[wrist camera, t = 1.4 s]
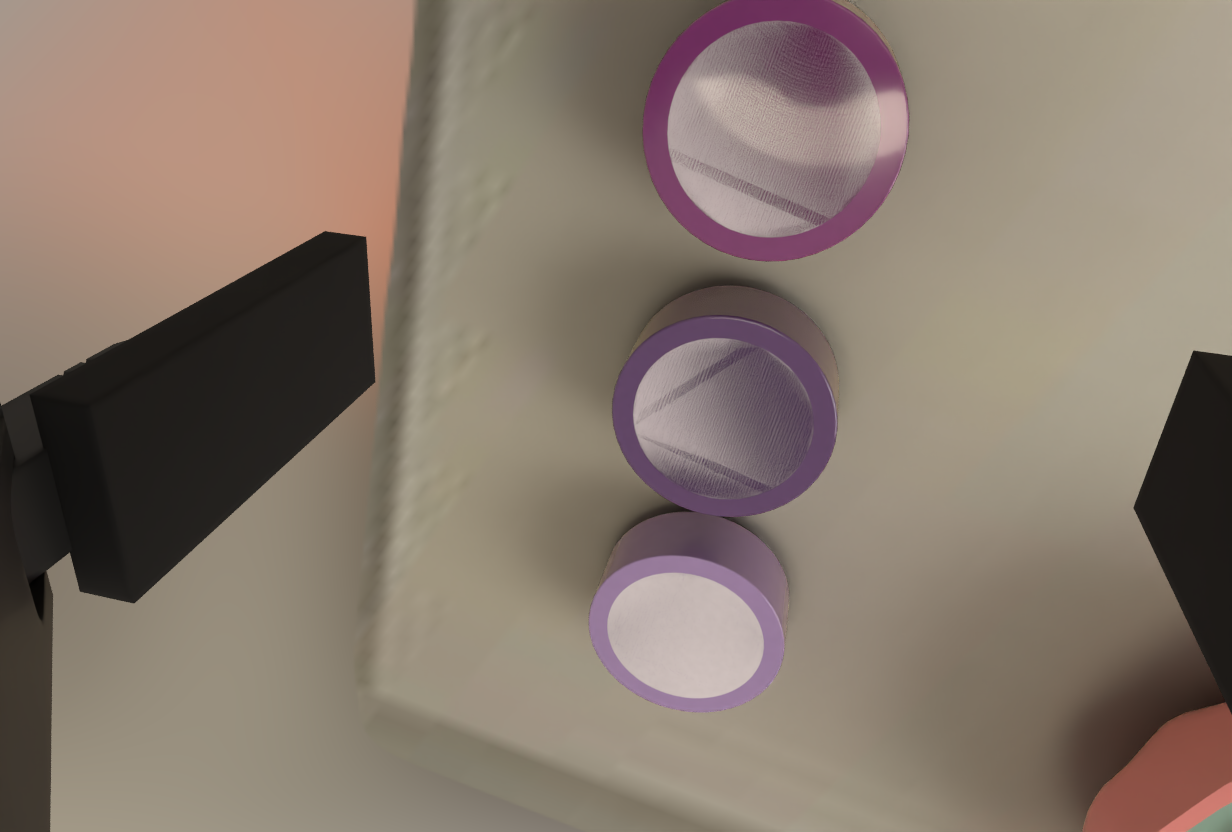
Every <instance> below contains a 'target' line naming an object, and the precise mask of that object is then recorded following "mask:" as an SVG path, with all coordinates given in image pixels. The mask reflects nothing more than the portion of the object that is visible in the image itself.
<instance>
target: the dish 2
mask: <svg viewBox="0 0 1232 832" xmlns="http://www.w3.org/2000/svg"><path fill="white" fill-rule="evenodd" d="M788 609H789V588H788V582H787V579H786V576H785V573H784V570H783V568H782V566H781V564H780V562H779V561H778V559H777V558H776V556H775V555H774V554H773V552H772V551H771V550H770V549H769V548H768V546H767V545H766V544H765V543H764V542H763V541H762V540H760V539H759V538H758V537H757V536H756V535H754V534H753V533H751V532H750V531H748V530H747V529H745V528H744V527H742V526H740V525H738V524H736V523H734V522H732V521H729V520H727V519H724V518H722V517H718V516H713V515H707V514H702V513H698V512H674V513H668V514H662V515H659V516H655V517H652V518H649V519H647V520H645V521H643V522H641V523H639V524H638V525H636V526H635V527H633V528H631V529H630V530H629V531H628V532H627V533H626V534H624V535H623V536H622V538H621V539H620V540H619V541H618V542H617V544H616V545H615V547H614V549H613V550H612V552H611V555H610V557H609V560H608V562H607V565H606V567H605V570H604V572H603V575H602V577H601V580H600V583H599V585H598V588H597V590H596V593H595V595H594V598H593V601H592V603H591V607H590V612H589V631H590V637H591V640H592V643H593V646H594V649H595V651H596V653H597V655H598V657H599V658H600V660H601V662H602V663H603V665H604V666H605V667H606V669H607V670H608V671H609V672H610V673H611V674H612V675H613V676H614V677H615V678H616V679H617V680H618V681H619V682H620V683H621V684H622V685H624V686H625V687H626V688H627V689H629V690H630V691H632V692H634V693H635V694H637V695H638V696H640V697H642V698H644V699H646V700H648V701H650V702H653V703H655V704H658V705H660V706H664V707H667V708H671V709H675V710H681V711H688V712H714V711H721V710H726V709H730V708H733V707H736V706H739V705H742V704H744V703H746V702H748V701H750V700H752V699H753V698H755V697H756V696H758V695H759V694H760V693H762V692H763V691H764V690H765V689H766V688H767V687H768V686H769V685H770V683H771V682H772V681H773V680H774V678H775V677H776V675H777V673H778V671H779V669H780V667H781V664H782V661H783V656H784V649H785V639H786V629H787V619H788Z"/></svg>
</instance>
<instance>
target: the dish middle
mask: <svg viewBox="0 0 1232 832" xmlns="http://www.w3.org/2000/svg"><path fill="white" fill-rule="evenodd" d="M838 403H839V376H838V369H837V364H836V361H835V357H834V354H833V352H832V350H831V347H830V345H829V343H828V341H827V340H826V338H825V336H824V335H823V333H822V332H821V330H820V329H819V328H818V327H817V325H816V324H815V323H814V322H813V321H812V320H811V319H810V318H809V317H808V316H807V315H806V314H805V313H804V312H803V311H802V310H800V309H799V308H797V307H796V306H794V305H793V304H792V303H790V302H788V301H786V300H785V299H783V298H781V297H779V296H777V295H774V294H772V293H769V292H766V291H763V290H760V289H755V288H751V287H744V286H735V285H731V286H714V287H708V288H703V289H700V290H696V291H692V292H690V293H688V294H685V295H683V296H681V297H679V298H677V299H675V300H674V301H672V302H670V303H669V304H667V305H666V306H665V307H664V308H662V309H661V310H660V311H659V312H657V313H656V315H655V316H654V317H653V318H652V319H651V320H650V321H649V322H648V324H647V325H646V326H645V328H644V329H643V331H642V332H641V334H640V336H639V338H638V340H637V341H636V343H635V345H634V347H633V349H632V351H631V353H630V355H629V356H628V358H627V360H626V362H625V364H624V366H623V368H622V370H621V372H620V374H619V376H618V379H617V382H616V385H615V388H614V394H613V399H612V418H613V426H614V430H615V434H616V438H617V441H618V443H619V446H620V448H621V451H622V453H623V454H624V456H625V458H626V460H627V462H628V463H629V465H630V466H631V467H632V469H633V470H634V471H635V473H636V474H637V475H638V476H639V477H640V478H641V479H642V480H643V481H644V482H645V483H646V484H647V485H648V486H649V487H650V488H652V489H653V490H654V491H655V492H657V493H658V494H660V495H661V496H663V497H664V498H666V499H667V500H669V501H671V502H673V503H675V504H677V505H679V506H681V507H684V508H686V509H689V510H691V511H695V512H699V513H702V514H707V515H713V516H721V517H741V516H750V515H756V514H761V513H764V512H767V511H770V510H774V509H776V508H778V507H780V506H783V505H785V504H787V503H788V502H790V501H792V500H793V499H795V498H797V497H798V496H799V495H801V494H802V493H803V492H804V491H806V490H807V489H808V488H809V487H810V486H811V485H812V484H813V483H814V482H815V481H816V480H817V478H818V477H819V476H820V474H821V473H822V471H823V470H824V469H825V467H826V465H827V463H828V461H829V459H830V457H831V455H832V452H833V449H834V445H835V442H836V436H837V429H838Z"/></svg>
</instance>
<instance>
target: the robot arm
mask: <svg viewBox="0 0 1232 832" xmlns="http://www.w3.org/2000/svg"><path fill="white" fill-rule="evenodd" d="M372 340H373V338H372V323H371V307H370V291H369V275H368V259H367V244H366V237H363V236H356V235H348V234H341V233H334V232H327V231H325V232H323V233H321V234H319V235H317V236H315V237H314V238H312V239H310V240H308V241H306V242H305V243H303V244H301V245H299V246H297V247H296V248H294V249H292V250H290V251H288V252H287V253H285V254H283V255H281V256H279V257H278V258H276V259H274V260H272V261H270V262H268V263H267V264H265V265H263V266H261V267H260V268H258V269H256V270H254V271H252V272H250V273H249V274H247V275H245V276H243V277H241V278H239V279H238V280H236V281H234V282H232V283H230V284H229V285H227V286H225V287H223V288H222V289H220V290H218V291H216V292H214V293H212V294H211V295H209V296H207V297H205V298H203V299H201V300H200V301H198V302H196V303H194V304H193V305H191V306H189V307H187V308H185V309H183V310H182V311H180V312H178V313H176V314H174V315H173V316H171V317H169V318H167V319H165V320H163V321H162V322H160V323H158V324H156V325H154V326H153V327H151V328H149V329H147V330H146V331H144V332H142V333H140V334H138V335H136V336H134V337H133V338H131V339H129V340H126V341H123V342H120V343H116V344H113V345H112V346H110V347H108V348H106V349H104V350H102V351H101V352H99V353H97V354H95V355H93V356H92V357H90V358H88V359H86V363H82V362H80V363H79V364H77V365H75V366H73V367H71V368H70V369H68V370H66V371H64V375H57V376H55V377H53V378H51V379H50V380H48V381H46V382H44V383H42V384H40V385H38V386H37V387H35V388H33V389H31V390H30V391H28V392H26V393H24V394H22V395H20V396H19V397H17V398H15V399H13V400H11V401H9V402H8V403H6V404H4V405H2V406H1V404H0V832H50V794H51V793H50V792H51V789H50V788H51V710H52V630H53V627H52V626H53V624H52V623H53V622H52V621H53V593H52V590H51V586H50V582H49V579H48V575H47V572H46V570H48V569H49V568H50V567H52V566H53V565H54V564H55V563H57V562H58V561H59V560H60V559H62V558H63V557H64V556H66V555H67V554H68V553H69V552H70V554H71V558H72V562H73V566H74V570H75V574H76V578H77V582H78V586H79V590H80V592H84V593H89V594H94V595H98V596H103V597H107V598H112V599H116V600H121V601H126V602H130V603H135V602H136V601H137V600H139V599H140V598H141V597H142V596H143V595H144V594H145V593H146V592H147V591H148V590H149V589H150V588H152V587H153V586H154V585H155V584H156V583H157V582H158V581H159V580H160V579H161V578H162V577H163V576H165V575H166V574H167V573H168V572H169V571H170V570H171V569H172V568H173V567H174V566H176V565H177V564H178V562H180V561H181V560H182V559H183V558H184V557H185V556H186V555H188V553H190V552H191V551H192V550H193V549H194V548H195V547H196V546H197V545H198V544H199V543H200V542H202V541H203V540H204V539H205V538H206V537H207V536H208V535H209V534H210V533H211V532H213V531H214V530H215V529H216V528H217V527H218V526H219V525H220V524H221V523H222V522H223V521H224V520H226V519H227V518H228V517H229V516H230V515H231V514H232V513H233V512H234V511H235V510H236V509H237V508H239V507H240V506H241V505H242V504H243V503H244V502H245V501H246V500H247V499H248V498H249V497H251V496H252V495H253V494H254V493H255V492H256V491H257V490H258V489H259V488H260V487H261V486H262V485H264V484H265V483H266V482H267V481H268V480H269V479H270V478H271V477H272V476H273V475H274V474H276V472H278V471H279V470H280V469H281V468H282V467H283V466H284V465H285V464H286V463H288V462H289V461H290V460H291V459H292V458H293V457H294V456H295V455H296V454H297V453H298V452H300V451H301V450H302V449H303V448H304V447H305V446H306V445H307V444H308V443H309V442H310V441H311V440H312V439H314V438H315V437H316V436H317V435H318V434H319V433H320V432H321V431H322V430H323V429H325V428H326V427H327V426H328V425H329V424H330V423H331V422H332V421H333V420H334V419H335V418H336V417H338V416H339V415H340V414H341V413H342V412H343V411H344V410H345V409H346V408H347V407H349V406H350V405H351V404H352V403H353V402H354V401H355V400H356V399H357V398H358V397H359V396H360V395H361V394H363V393H364V392H365V391H366V390H367V389H368V388H369V387H370V386H371V385H372V384H374V383H375V369H374V354H373V341H372ZM1133 508H1134V510H1135V512H1136V514H1137V516H1138V518H1139V520H1140V522H1141V524H1142V527H1143V529H1144V531H1145V533H1146V535H1147V537H1148V539H1149V541H1150V543H1151V546H1152V548H1153V550H1154V552H1155V554H1156V556H1157V558H1158V560H1159V562H1160V565H1161V567H1162V569H1163V571H1164V573H1165V575H1166V577H1167V579H1168V581H1169V584H1170V586H1171V588H1172V590H1173V592H1174V594H1175V596H1176V598H1177V600H1178V603H1179V605H1180V607H1181V609H1182V611H1183V613H1184V615H1185V617H1186V619H1187V621H1188V624H1189V626H1190V628H1191V630H1192V632H1193V634H1194V636H1195V638H1196V640H1197V643H1198V645H1199V647H1200V649H1201V651H1202V653H1203V655H1204V657H1205V659H1206V662H1207V664H1208V666H1209V668H1210V670H1211V672H1212V674H1213V676H1214V678H1215V681H1216V683H1217V685H1218V687H1219V689H1220V691H1221V693H1222V695H1223V697H1224V700H1225V702H1226V704H1227V706H1228V708H1229V710H1230V712H1231V714H1232V356H1229V355H1221V354H1214V353H1207V352H1200V351H1193V353H1192V356H1191V358H1190V361H1189V364H1188V366H1187V369H1186V371H1185V374H1184V377H1183V379H1182V382H1181V384H1180V387H1179V390H1178V392H1177V395H1176V398H1175V400H1174V403H1173V405H1172V408H1171V411H1170V413H1169V416H1168V419H1167V421H1166V424H1165V426H1164V429H1163V432H1162V434H1161V437H1160V439H1159V442H1158V445H1157V447H1156V450H1155V453H1154V455H1153V458H1152V460H1151V463H1150V466H1149V468H1148V471H1147V473H1146V476H1145V479H1144V481H1143V484H1142V487H1141V489H1140V492H1139V494H1138V497H1137V500H1136V502H1135V505H1134V507H1133Z"/></svg>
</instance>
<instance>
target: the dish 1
mask: <svg viewBox="0 0 1232 832" xmlns="http://www.w3.org/2000/svg"><path fill="white" fill-rule="evenodd" d="M642 135H643V148H644V154H645V159H646V163H647V167H648V170H649V173H650V176H651V179H652V182H653V184H654V186H655V188H656V190H657V192H658V194H659V196H660V198H661V200H662V201H663V203H664V204H665V206H666V207H667V209H668V210H669V211H670V213H671V214H672V215H673V216H674V217H675V218H676V220H677V221H678V222H679V223H680V224H681V225H682V226H683V227H684V228H685V229H687V230H688V231H689V232H690V233H691V234H692V235H694V236H695V237H697V238H698V239H700V240H701V241H702V242H704V243H705V244H707V245H709V246H711V247H713V248H715V249H717V250H719V251H722V252H724V253H727V254H730V255H732V256H736V257H740V258H744V259H749V260H757V261H786V260H793V259H799V258H803V257H806V256H810V255H813V254H816V253H819V252H821V251H823V250H826V249H828V248H831V247H832V246H834V245H836V244H838V243H839V242H841V241H843V240H845V239H846V238H847V237H849V236H850V235H851V234H853V233H854V232H855V231H857V230H858V229H859V228H861V227H862V226H863V225H864V224H865V223H866V222H867V221H868V220H869V219H870V218H871V217H872V216H873V215H874V213H875V212H876V211H877V210H878V208H879V207H880V206H881V205H882V203H883V202H884V200H885V199H886V197H887V196H888V194H889V192H890V191H891V189H892V188H893V185H894V183H895V181H896V179H897V177H898V175H899V172H900V170H901V167H902V163H903V160H904V157H905V154H906V148H907V142H908V137H909V107H908V98H907V94H906V89H905V85H904V81H903V78H902V74H901V71H900V68H899V65H898V63H897V60H896V58H895V55H894V52H893V50H892V49H891V47H890V45H889V43H888V41H887V40H886V38H885V36H884V35H883V34H882V32H881V31H880V30H879V28H878V27H877V26H876V24H875V23H874V22H873V21H872V20H871V19H870V18H869V17H868V16H867V15H866V14H865V13H864V12H862V11H861V10H860V9H858V8H857V7H856V6H854V5H853V4H852V3H850V2H849V1H847V0H727V1H725V2H724V3H722V4H720V5H718V6H716V7H714V8H713V9H711V10H709V11H707V12H706V13H705V14H703V15H702V16H701V17H699V18H698V19H696V20H695V21H694V22H692V23H691V24H690V25H689V26H688V27H687V28H686V29H685V30H684V31H683V32H682V33H681V34H680V35H679V36H678V37H677V39H676V40H675V41H674V42H673V44H672V45H671V46H670V47H669V49H668V50H667V52H666V53H665V55H664V57H663V58H662V60H661V62H660V63H659V65H658V67H657V69H656V72H655V74H654V76H653V78H652V81H651V84H650V87H649V90H648V94H647V97H646V102H645V107H644V113H643V129H642Z"/></svg>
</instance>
